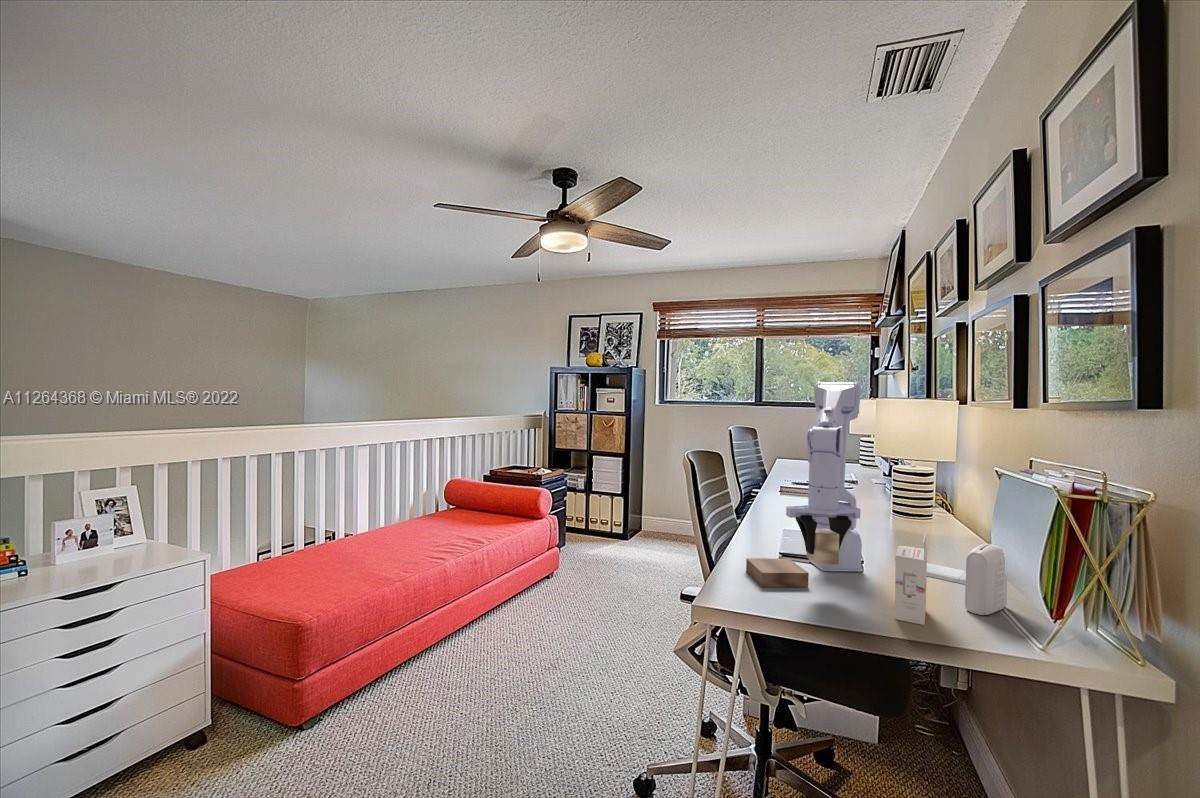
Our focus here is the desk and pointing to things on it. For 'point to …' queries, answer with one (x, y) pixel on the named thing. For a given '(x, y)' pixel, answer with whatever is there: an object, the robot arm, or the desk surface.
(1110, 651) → the desk surface
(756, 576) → the walnut base
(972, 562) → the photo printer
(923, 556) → the ink cartridge box
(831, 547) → the maple block
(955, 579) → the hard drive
